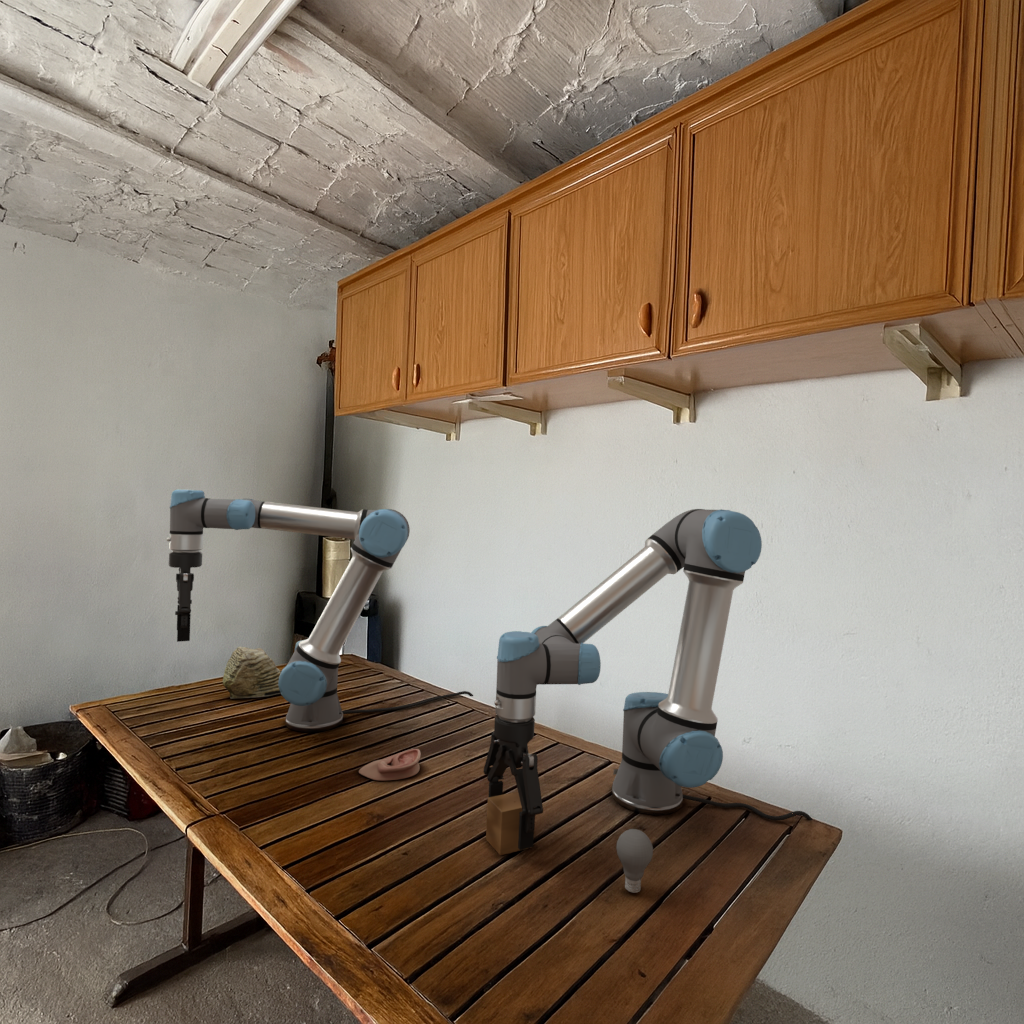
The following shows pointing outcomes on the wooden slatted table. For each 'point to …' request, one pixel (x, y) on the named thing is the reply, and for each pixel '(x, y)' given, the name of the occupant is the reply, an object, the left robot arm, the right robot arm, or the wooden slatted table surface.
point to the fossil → (251, 674)
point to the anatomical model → (393, 766)
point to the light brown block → (503, 822)
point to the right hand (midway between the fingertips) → (509, 830)
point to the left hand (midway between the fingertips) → (182, 635)
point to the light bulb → (634, 857)
